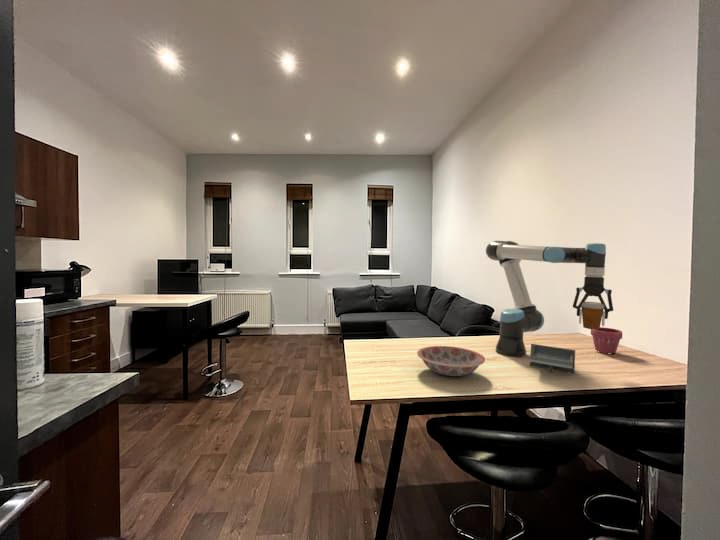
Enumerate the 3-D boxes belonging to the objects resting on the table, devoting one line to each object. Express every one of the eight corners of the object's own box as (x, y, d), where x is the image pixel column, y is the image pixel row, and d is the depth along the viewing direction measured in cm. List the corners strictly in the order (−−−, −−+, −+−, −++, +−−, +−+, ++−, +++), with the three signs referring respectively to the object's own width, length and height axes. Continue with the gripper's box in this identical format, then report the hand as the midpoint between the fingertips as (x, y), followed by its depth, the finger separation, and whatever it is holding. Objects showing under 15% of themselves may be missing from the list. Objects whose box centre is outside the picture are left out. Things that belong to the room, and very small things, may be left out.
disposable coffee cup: (608, 330, 152) (610, 304, 151) (587, 330, 152) (589, 304, 151) (594, 326, 161) (595, 301, 161) (574, 325, 161) (576, 301, 161)
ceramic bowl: (490, 388, 131) (491, 368, 130) (415, 381, 136) (416, 362, 136) (479, 364, 159) (479, 348, 159) (417, 359, 165) (418, 343, 165)
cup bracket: (526, 374, 148) (527, 352, 147) (530, 362, 164) (531, 342, 164) (574, 383, 138) (575, 359, 137) (574, 369, 155) (575, 348, 154)
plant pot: (583, 348, 191) (584, 327, 191) (604, 348, 194) (605, 326, 193) (606, 356, 177) (607, 332, 177) (627, 355, 180) (629, 332, 179)
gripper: (567, 275, 158) (565, 322, 159) (624, 278, 147) (620, 328, 148) (567, 274, 164) (565, 320, 165) (621, 277, 153) (618, 325, 154)
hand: (591, 324), depth 157 cm, fingers closed on disposable coffee cup, 8 cm apart
